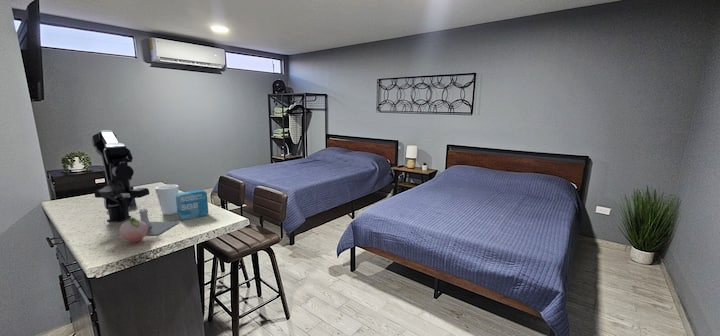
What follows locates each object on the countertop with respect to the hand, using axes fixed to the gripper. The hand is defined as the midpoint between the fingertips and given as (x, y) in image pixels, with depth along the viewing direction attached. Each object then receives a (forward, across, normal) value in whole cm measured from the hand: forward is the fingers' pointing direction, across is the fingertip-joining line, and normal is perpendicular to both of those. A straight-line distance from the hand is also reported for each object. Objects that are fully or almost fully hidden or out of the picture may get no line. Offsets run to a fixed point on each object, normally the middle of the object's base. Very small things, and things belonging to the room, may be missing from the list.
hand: (125, 212), depth 125 cm
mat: (+7, +10, 0) cm, 12 cm away
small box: (+7, -25, +29) cm, 39 cm away
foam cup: (+7, +5, +21) cm, 23 cm away
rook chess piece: (+7, +8, 0) cm, 10 cm away
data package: (+7, +20, +15) cm, 26 cm away
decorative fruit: (+7, +14, -14) cm, 21 cm away
